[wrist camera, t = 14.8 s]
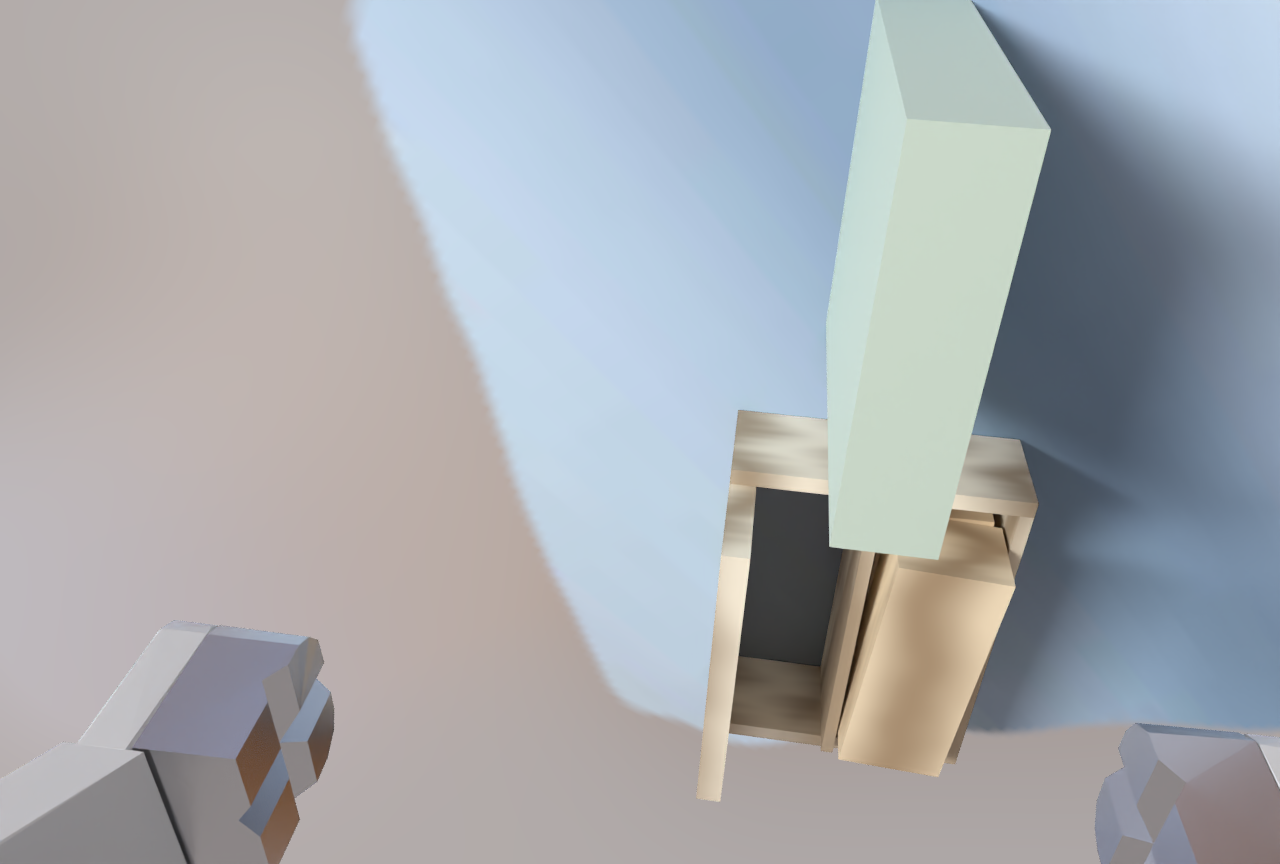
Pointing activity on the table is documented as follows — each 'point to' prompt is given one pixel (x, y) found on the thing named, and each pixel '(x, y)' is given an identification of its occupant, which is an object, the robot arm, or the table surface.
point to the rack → (813, 695)
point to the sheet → (922, 268)
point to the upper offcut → (923, 649)
